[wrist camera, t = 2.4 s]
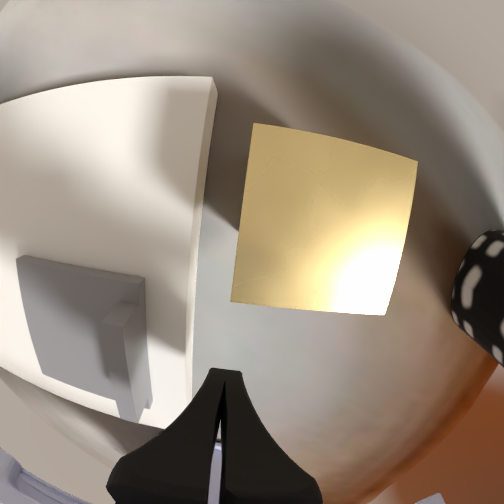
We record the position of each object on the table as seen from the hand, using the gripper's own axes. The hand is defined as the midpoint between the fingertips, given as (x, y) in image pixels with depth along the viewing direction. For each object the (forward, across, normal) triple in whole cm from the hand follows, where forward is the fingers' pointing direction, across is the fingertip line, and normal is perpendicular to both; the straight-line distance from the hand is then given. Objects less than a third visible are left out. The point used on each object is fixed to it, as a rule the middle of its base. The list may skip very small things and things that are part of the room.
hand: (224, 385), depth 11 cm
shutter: (+2, +8, 0) cm, 8 cm away
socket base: (+4, +11, -3) cm, 12 cm away
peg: (+4, -2, -8) cm, 9 cm away
